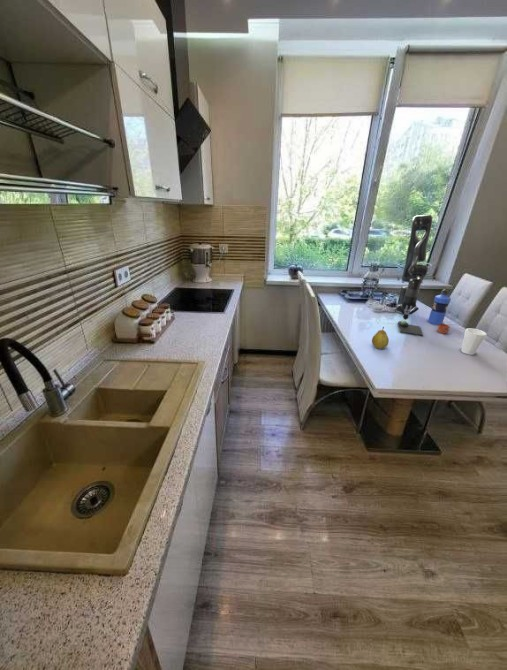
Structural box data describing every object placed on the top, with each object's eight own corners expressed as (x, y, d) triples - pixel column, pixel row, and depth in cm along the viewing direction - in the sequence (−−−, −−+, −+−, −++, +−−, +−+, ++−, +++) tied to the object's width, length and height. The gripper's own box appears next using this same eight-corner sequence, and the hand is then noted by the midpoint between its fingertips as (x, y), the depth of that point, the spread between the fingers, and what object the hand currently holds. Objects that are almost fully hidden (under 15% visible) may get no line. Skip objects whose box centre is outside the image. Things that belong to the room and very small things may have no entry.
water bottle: (428, 323, 198) (439, 289, 188) (426, 319, 206) (437, 286, 196) (443, 325, 195) (455, 291, 185) (441, 321, 203) (452, 288, 192)
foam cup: (474, 350, 161) (482, 329, 156) (480, 357, 153) (489, 336, 148) (455, 347, 164) (463, 327, 159) (460, 354, 156) (469, 333, 151)
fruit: (380, 351, 156) (385, 332, 151) (367, 345, 163) (371, 326, 158) (390, 348, 160) (395, 329, 155) (377, 342, 167) (381, 324, 162)
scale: (397, 323, 196) (397, 320, 195) (418, 327, 191) (419, 323, 190) (398, 332, 182) (399, 328, 181) (422, 336, 178) (423, 332, 176)
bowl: (435, 329, 188) (438, 323, 186) (446, 331, 186) (448, 324, 184) (437, 333, 183) (440, 326, 180) (448, 334, 181) (450, 327, 178)
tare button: (400, 322, 193) (400, 320, 193) (405, 323, 192) (406, 321, 191) (400, 324, 190) (401, 321, 189) (406, 324, 189) (407, 322, 188)
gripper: (421, 294, 183) (414, 318, 191) (400, 292, 188) (394, 316, 195) (423, 297, 177) (416, 322, 185) (401, 295, 181) (394, 319, 189)
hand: (404, 319), depth 190 cm, fingers closed
